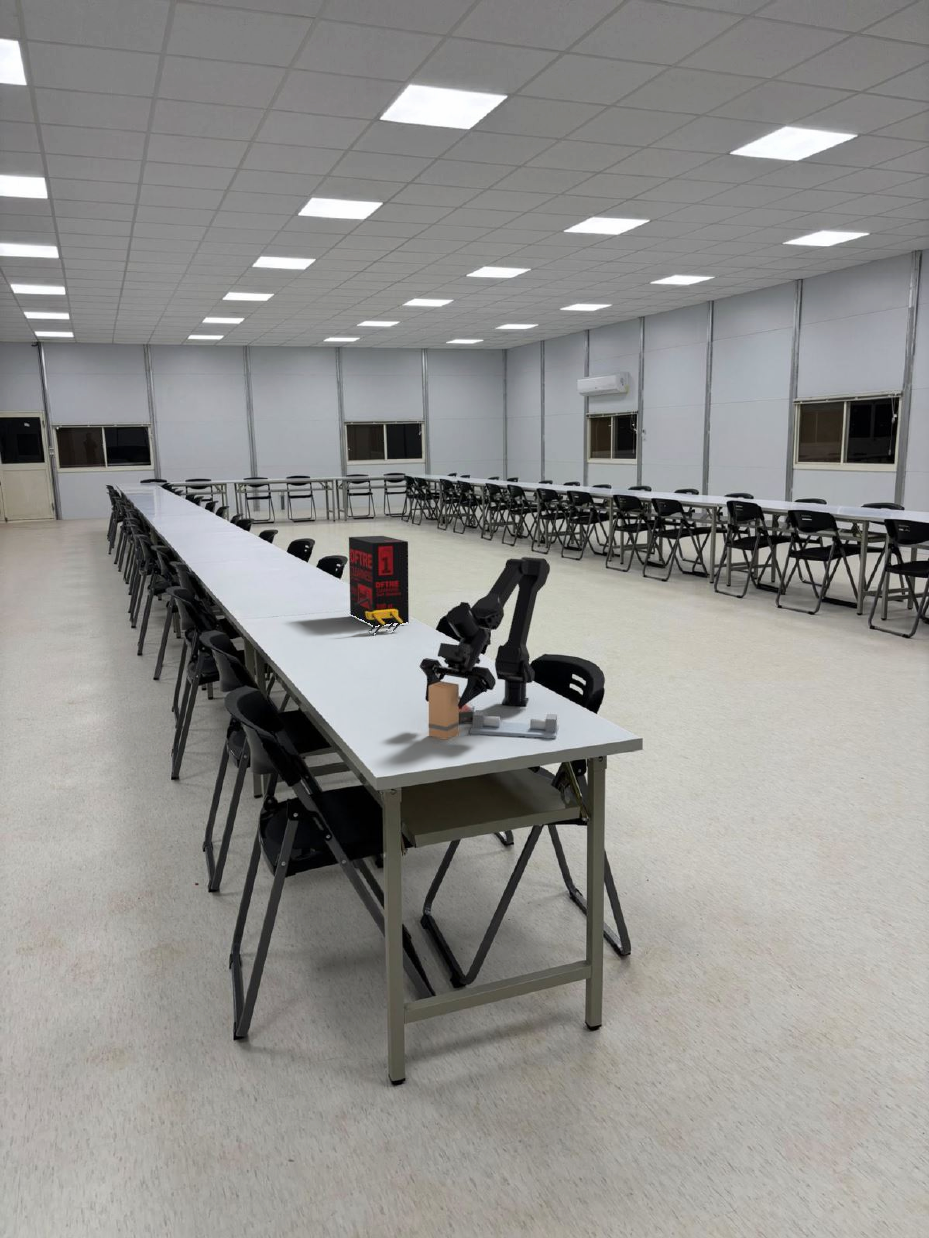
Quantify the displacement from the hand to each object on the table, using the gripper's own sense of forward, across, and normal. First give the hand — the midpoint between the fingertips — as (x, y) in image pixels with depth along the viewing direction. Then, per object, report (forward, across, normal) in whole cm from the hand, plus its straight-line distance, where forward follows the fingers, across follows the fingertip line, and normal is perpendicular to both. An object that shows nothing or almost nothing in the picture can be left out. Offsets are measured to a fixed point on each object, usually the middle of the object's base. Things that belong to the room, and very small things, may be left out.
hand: (442, 703), depth 205 cm
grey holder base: (-3, +12, +14) cm, 19 cm away
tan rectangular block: (+5, 0, +6) cm, 8 cm away
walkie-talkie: (-6, -8, +18) cm, 21 cm away
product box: (-68, -104, +78) cm, 146 cm away
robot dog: (-54, -88, +64) cm, 122 cm away
